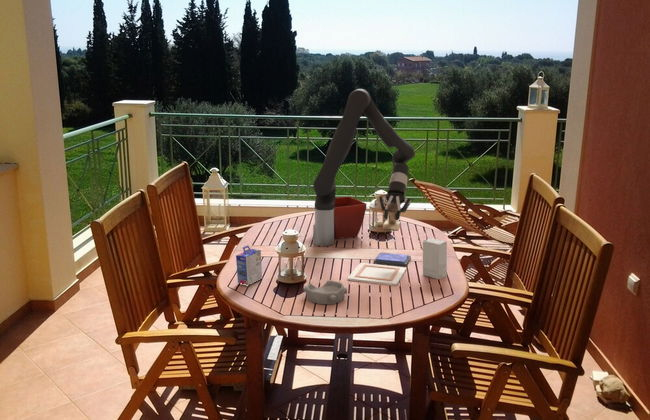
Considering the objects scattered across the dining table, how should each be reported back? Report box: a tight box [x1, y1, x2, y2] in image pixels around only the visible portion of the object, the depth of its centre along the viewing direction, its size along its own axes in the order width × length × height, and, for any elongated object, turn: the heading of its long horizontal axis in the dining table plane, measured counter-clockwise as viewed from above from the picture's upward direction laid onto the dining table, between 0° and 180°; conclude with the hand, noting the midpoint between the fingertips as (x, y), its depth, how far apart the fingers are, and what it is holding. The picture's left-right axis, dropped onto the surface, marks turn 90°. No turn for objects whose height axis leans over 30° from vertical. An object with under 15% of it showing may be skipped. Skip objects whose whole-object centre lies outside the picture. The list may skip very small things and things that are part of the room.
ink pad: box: [373, 252, 412, 268], centre depth 274 cm, size 14×11×2 cm
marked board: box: [346, 262, 407, 286], centre depth 257 cm, size 20×20×1 cm
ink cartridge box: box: [235, 245, 263, 285], centre depth 248 cm, size 10×6×14 cm, turn 149°
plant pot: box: [334, 196, 367, 240], centre depth 312 cm, size 19×19×17 cm
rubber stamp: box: [382, 203, 402, 232], centre depth 268 cm, size 6×6×11 cm
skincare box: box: [422, 237, 448, 280], centre depth 255 cm, size 8×6×15 cm
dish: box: [303, 280, 348, 305], centre depth 232 cm, size 14×14×5 cm
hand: (391, 219), depth 266 cm, fingers closed on rubber stamp, 4 cm apart
